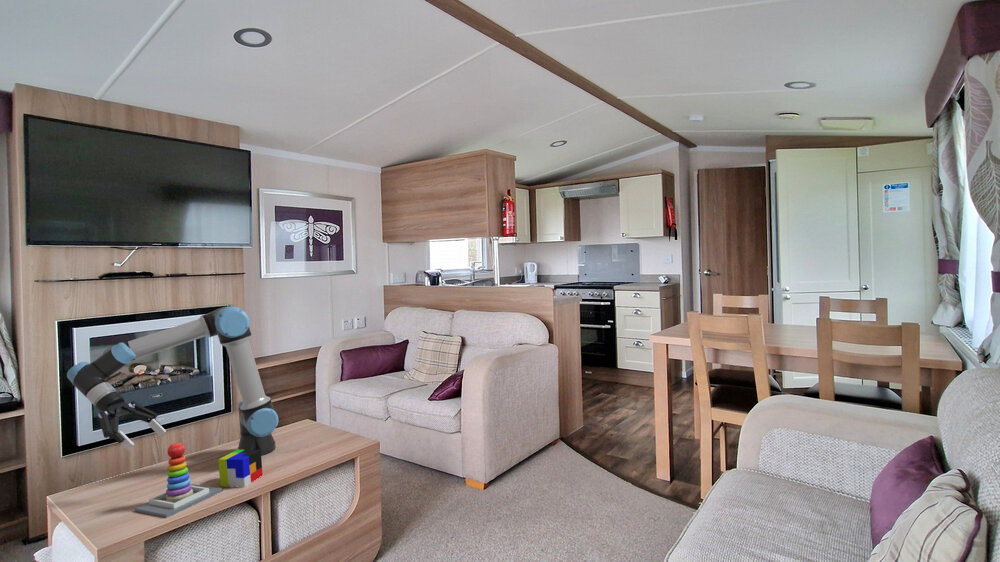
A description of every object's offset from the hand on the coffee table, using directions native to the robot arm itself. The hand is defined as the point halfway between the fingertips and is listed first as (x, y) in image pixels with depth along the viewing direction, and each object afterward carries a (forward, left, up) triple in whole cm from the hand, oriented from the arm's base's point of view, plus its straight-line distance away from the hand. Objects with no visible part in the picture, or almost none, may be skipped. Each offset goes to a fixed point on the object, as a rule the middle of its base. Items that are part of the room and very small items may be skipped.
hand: (148, 440), depth 179 cm
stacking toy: (-3, +10, -20) cm, 23 cm away
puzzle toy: (-22, +17, -21) cm, 35 cm away
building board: (-3, +10, -21) cm, 23 cm away
